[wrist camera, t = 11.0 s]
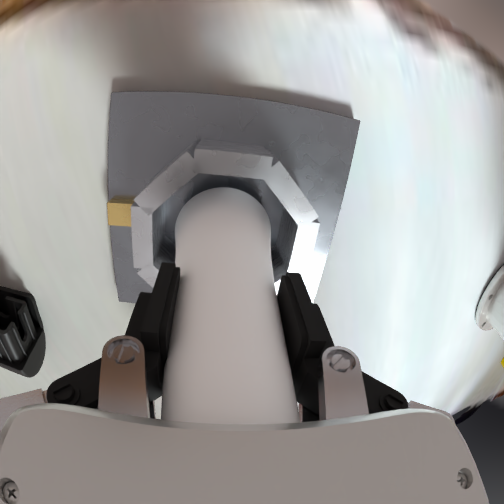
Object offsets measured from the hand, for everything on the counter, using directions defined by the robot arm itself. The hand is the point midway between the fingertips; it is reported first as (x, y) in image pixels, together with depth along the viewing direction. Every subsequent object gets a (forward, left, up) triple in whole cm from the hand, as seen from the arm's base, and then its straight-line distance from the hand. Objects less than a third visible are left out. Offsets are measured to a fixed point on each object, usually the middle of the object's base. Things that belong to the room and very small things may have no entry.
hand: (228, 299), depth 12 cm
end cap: (+23, +13, -10) cm, 28 cm away
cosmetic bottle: (0, 0, -7) cm, 8 cm away
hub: (0, 0, -10) cm, 10 cm away
